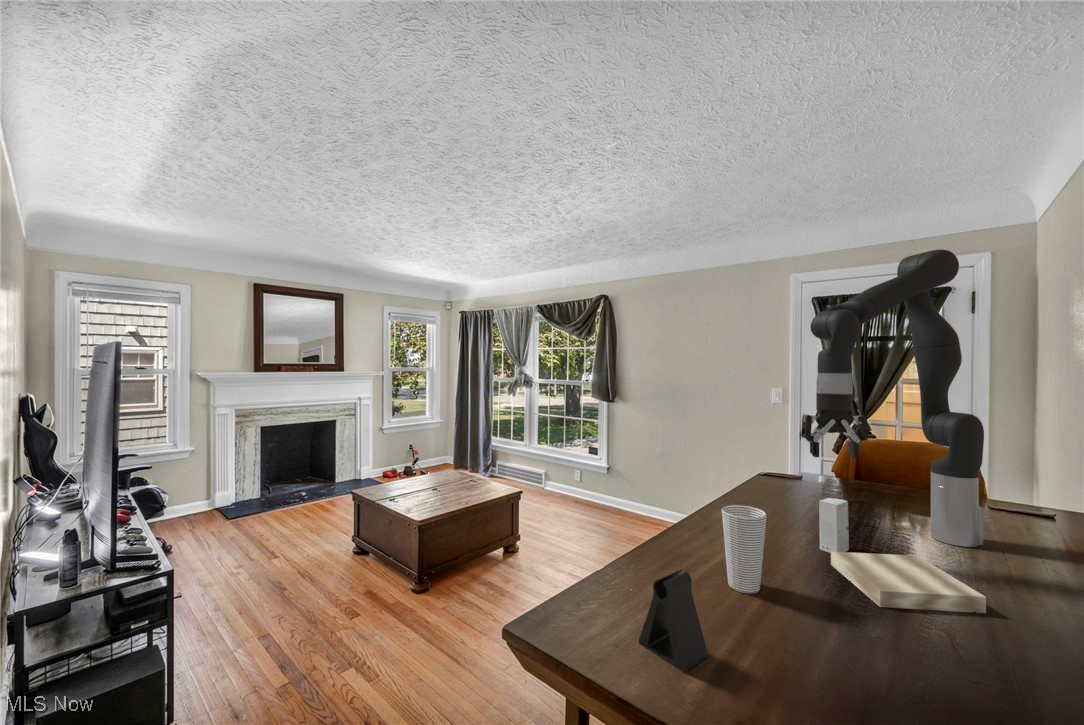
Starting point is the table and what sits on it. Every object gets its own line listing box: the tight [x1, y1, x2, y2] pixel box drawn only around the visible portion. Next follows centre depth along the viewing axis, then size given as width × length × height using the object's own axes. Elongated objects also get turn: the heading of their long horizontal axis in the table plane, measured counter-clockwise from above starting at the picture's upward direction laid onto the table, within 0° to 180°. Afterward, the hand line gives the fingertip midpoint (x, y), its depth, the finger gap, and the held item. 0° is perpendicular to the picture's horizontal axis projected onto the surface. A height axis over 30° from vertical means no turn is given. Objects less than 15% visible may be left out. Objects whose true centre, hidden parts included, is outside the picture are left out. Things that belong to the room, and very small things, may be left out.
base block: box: [830, 551, 987, 614], centre depth 93 cm, size 18×18×3 cm
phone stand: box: [638, 568, 709, 673], centre depth 72 cm, size 9×6×12 cm, turn 36°
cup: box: [721, 504, 767, 594], centre depth 93 cm, size 8×8×16 cm
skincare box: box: [818, 497, 850, 554], centre depth 112 cm, size 6×4×12 cm
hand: (833, 457), depth 112 cm, fingers open, 8 cm apart
